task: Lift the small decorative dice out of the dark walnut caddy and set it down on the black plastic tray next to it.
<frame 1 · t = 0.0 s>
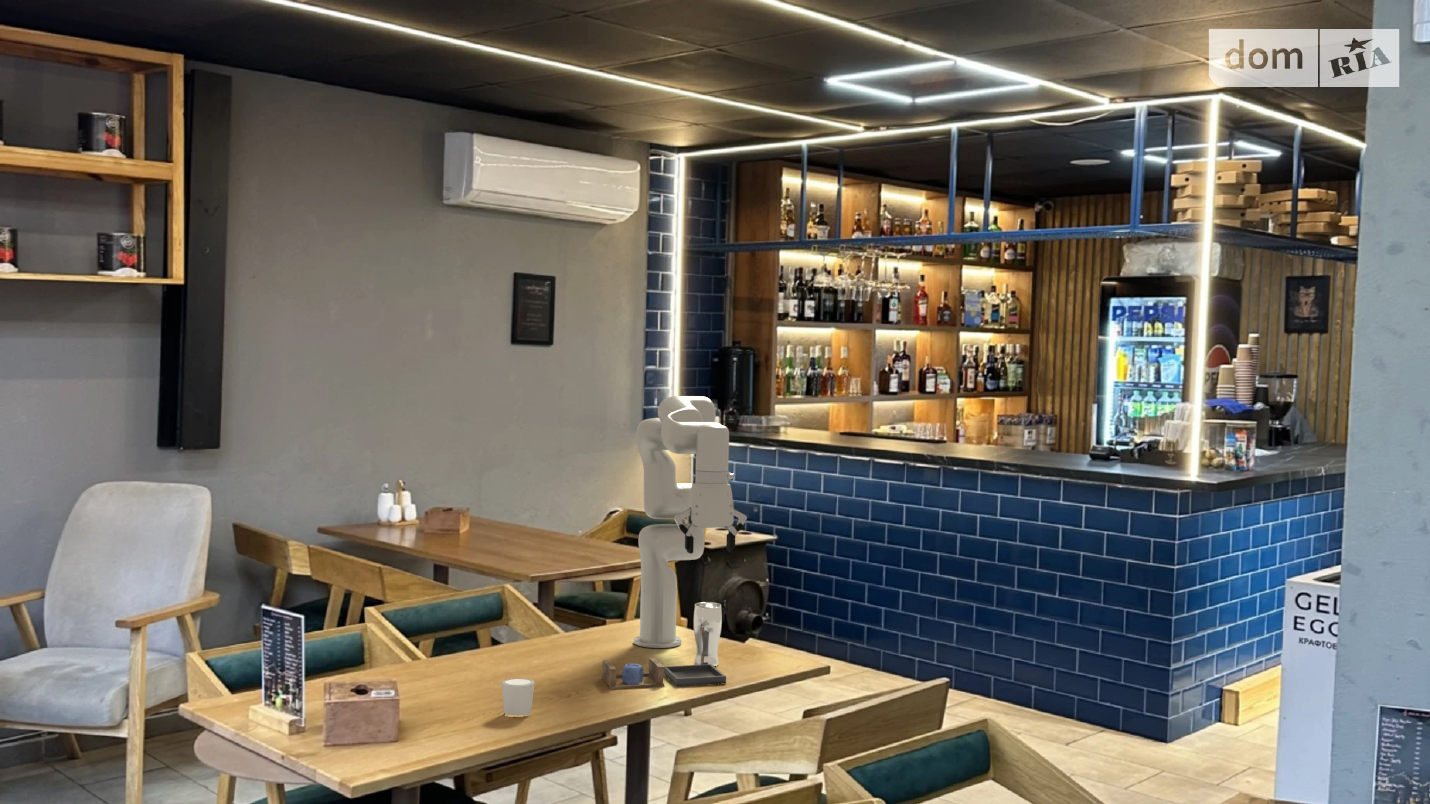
hand: (709, 552, 300), 31 cm above the table, tool pointing down, fingers open, 9 cm apart
caddy: (632, 682, 303), on the table
white cup: (517, 715, 274), on the table
beer glass: (706, 665, 322), on the table
decorative dice: (632, 683, 303), resting in caddy
tray: (694, 678, 307), on the table
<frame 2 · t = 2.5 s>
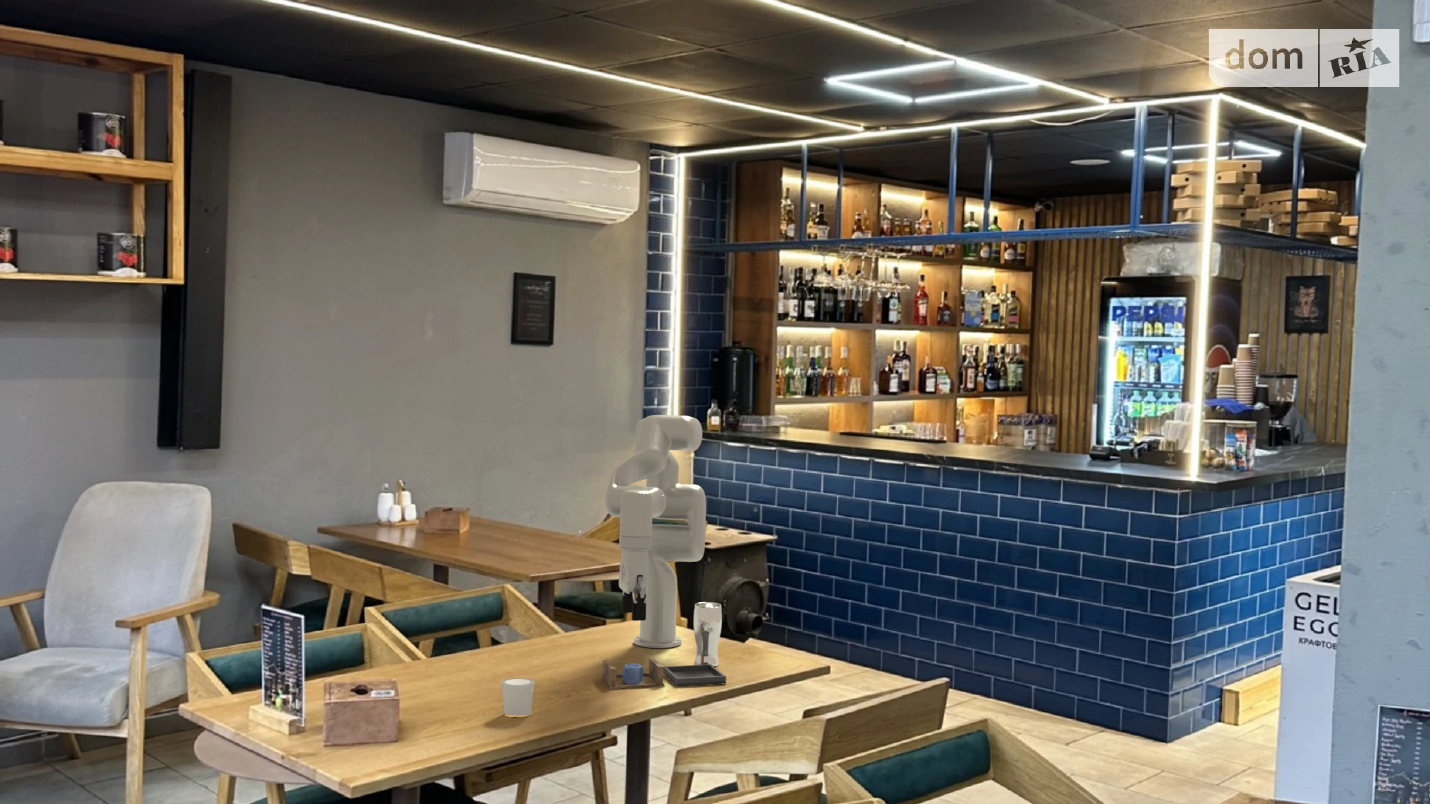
hand: (633, 616, 302), 16 cm above the table, tool pointing down, fingers open, 9 cm apart
nothing on the table moved.
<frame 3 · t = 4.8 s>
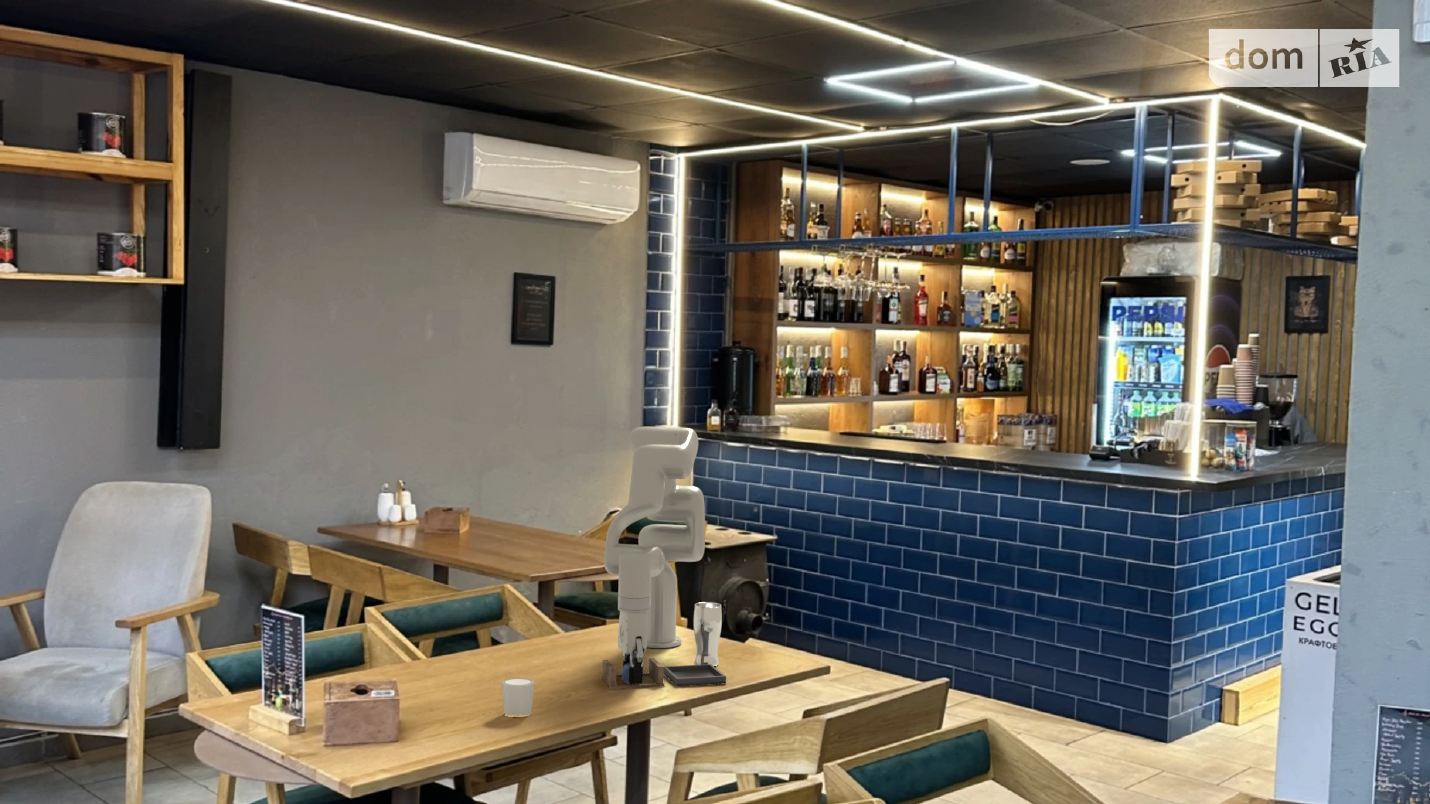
hand: (632, 679, 303), 1 cm above the table, tool pointing down, fingers closed on decorative dice, 5 cm apart
decorative dice: (632, 683, 303), resting in caddy, touching gripper
everything else where it was.
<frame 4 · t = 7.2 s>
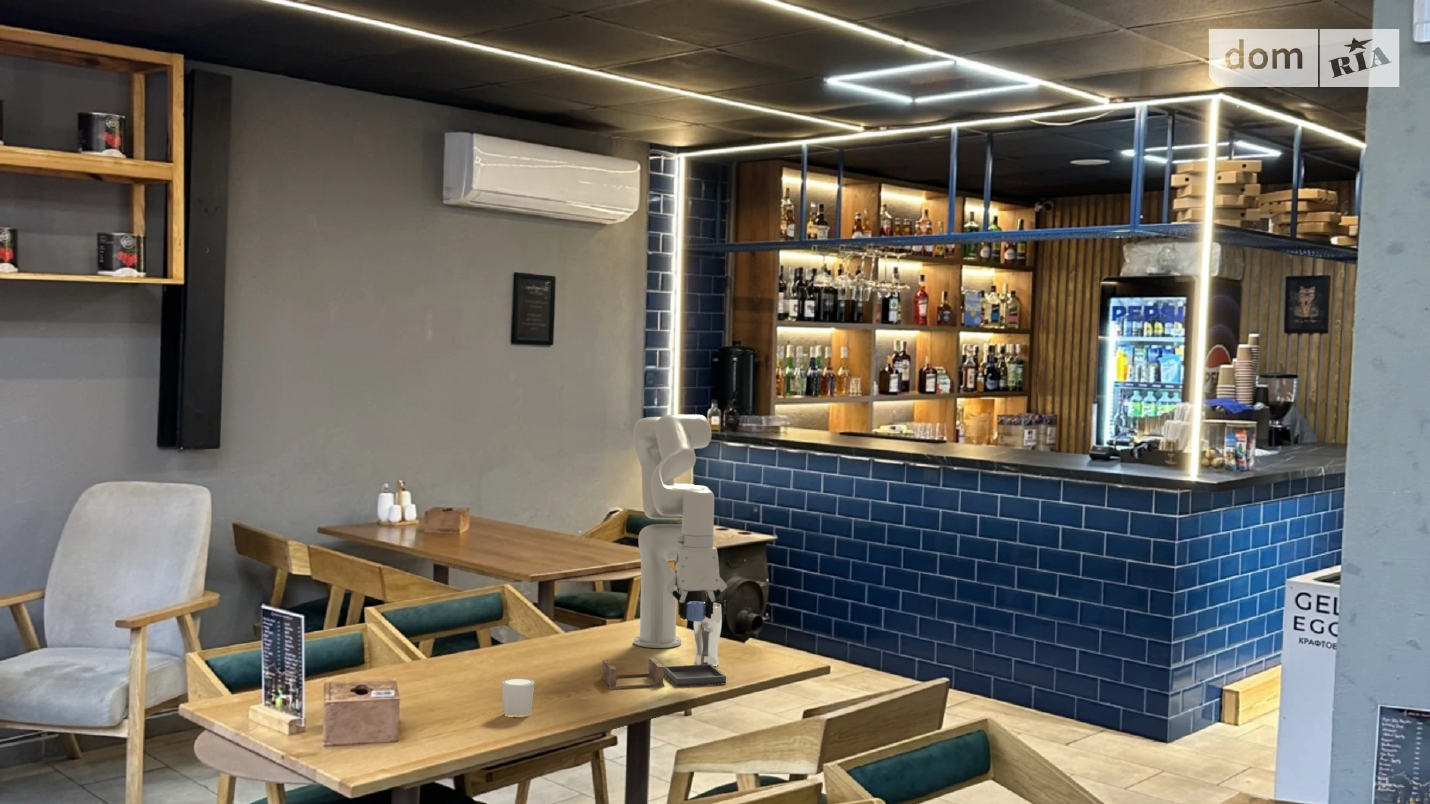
hand: (695, 617, 307), 15 cm above the table, tool pointing down, fingers closed on decorative dice, 5 cm apart
decorative dice: (695, 620, 307), point 14 cm above the table, touching gripper
everything else where it was.
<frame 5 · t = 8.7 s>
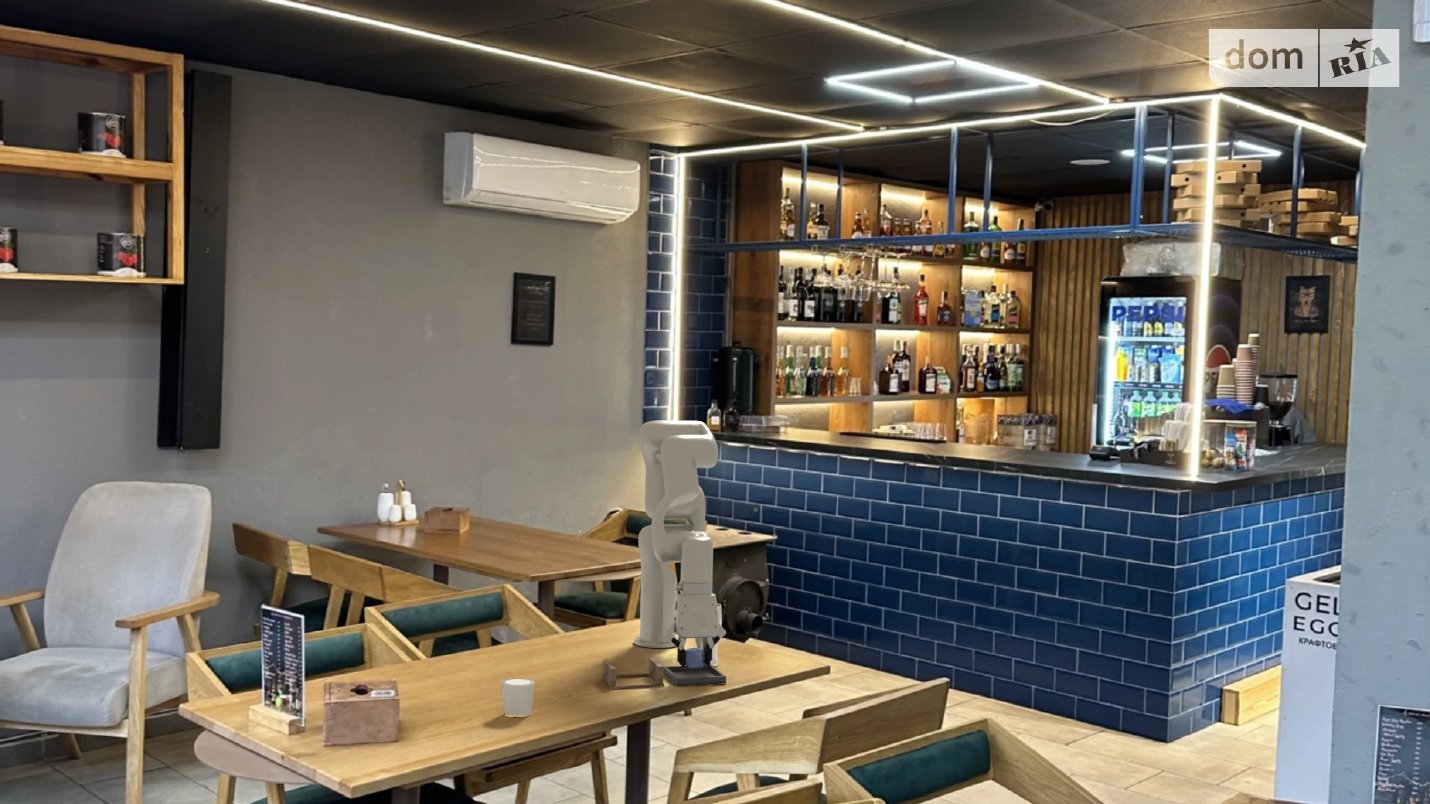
hand: (694, 663, 307), 4 cm above the table, tool pointing down, fingers closed on decorative dice, 5 cm apart
decorative dice: (694, 667, 307), point 3 cm above the table, touching gripper
everything else where it was.
when the fingers open (2 cm above the table, at t = 9.8 s): decorative dice drops 1 cm, resting on tray.
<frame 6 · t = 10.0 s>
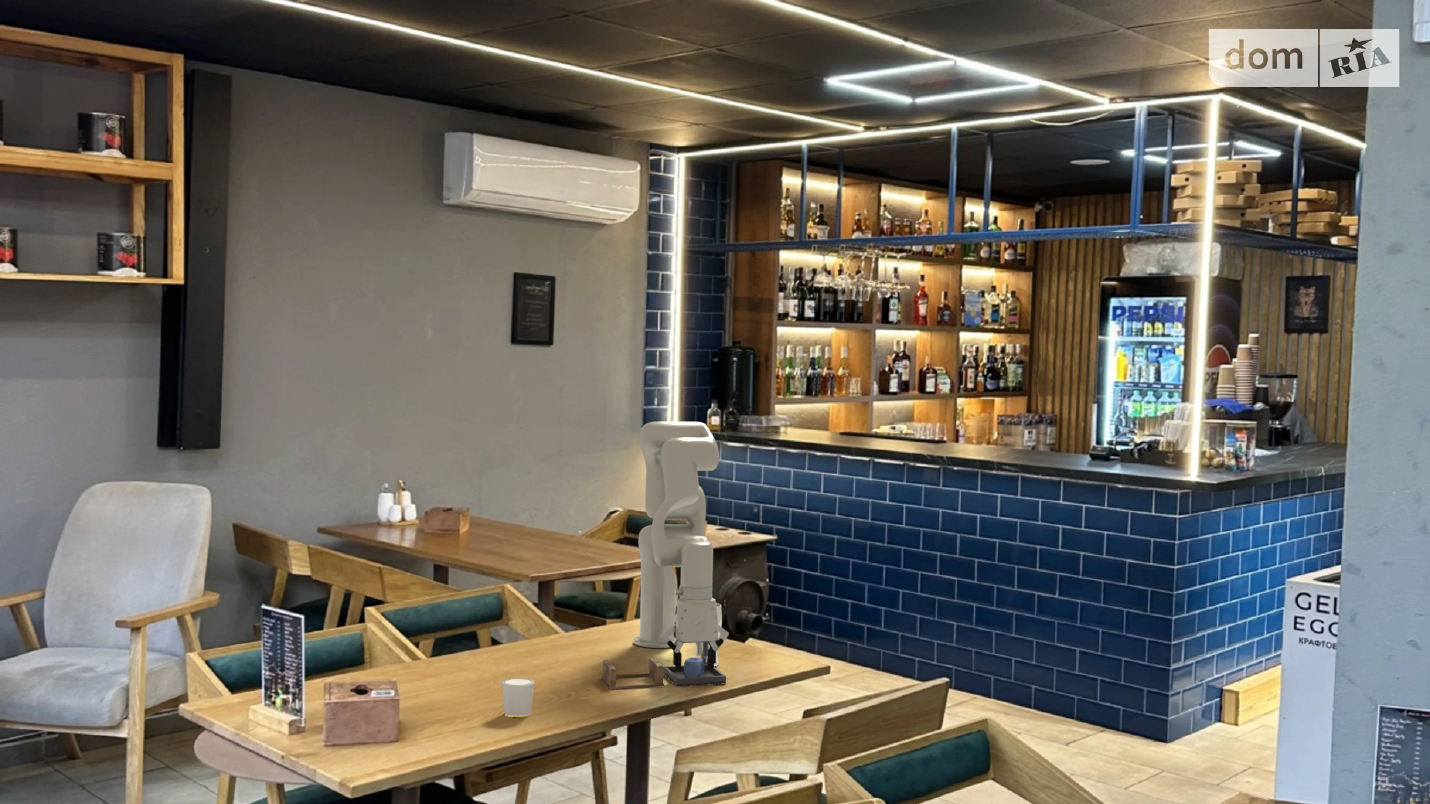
hand: (694, 666, 307), 3 cm above the table, tool pointing down, fingers open, 7 cm apart
decorative dice: (693, 677, 307), resting on tray
everything else where it was.
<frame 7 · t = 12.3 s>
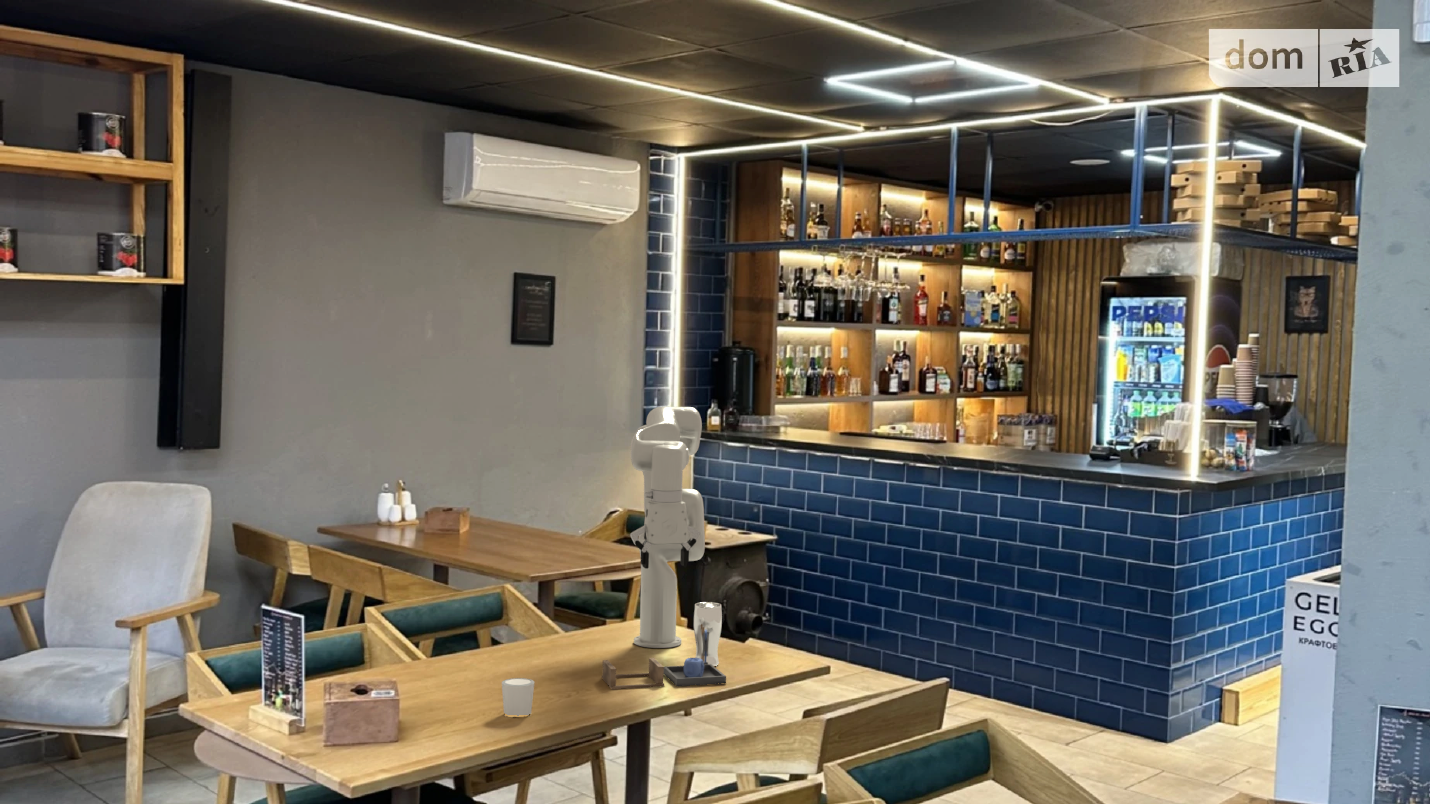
hand: (664, 566, 313), 25 cm above the table, tool pointing down, fingers open, 9 cm apart
nothing on the table moved.
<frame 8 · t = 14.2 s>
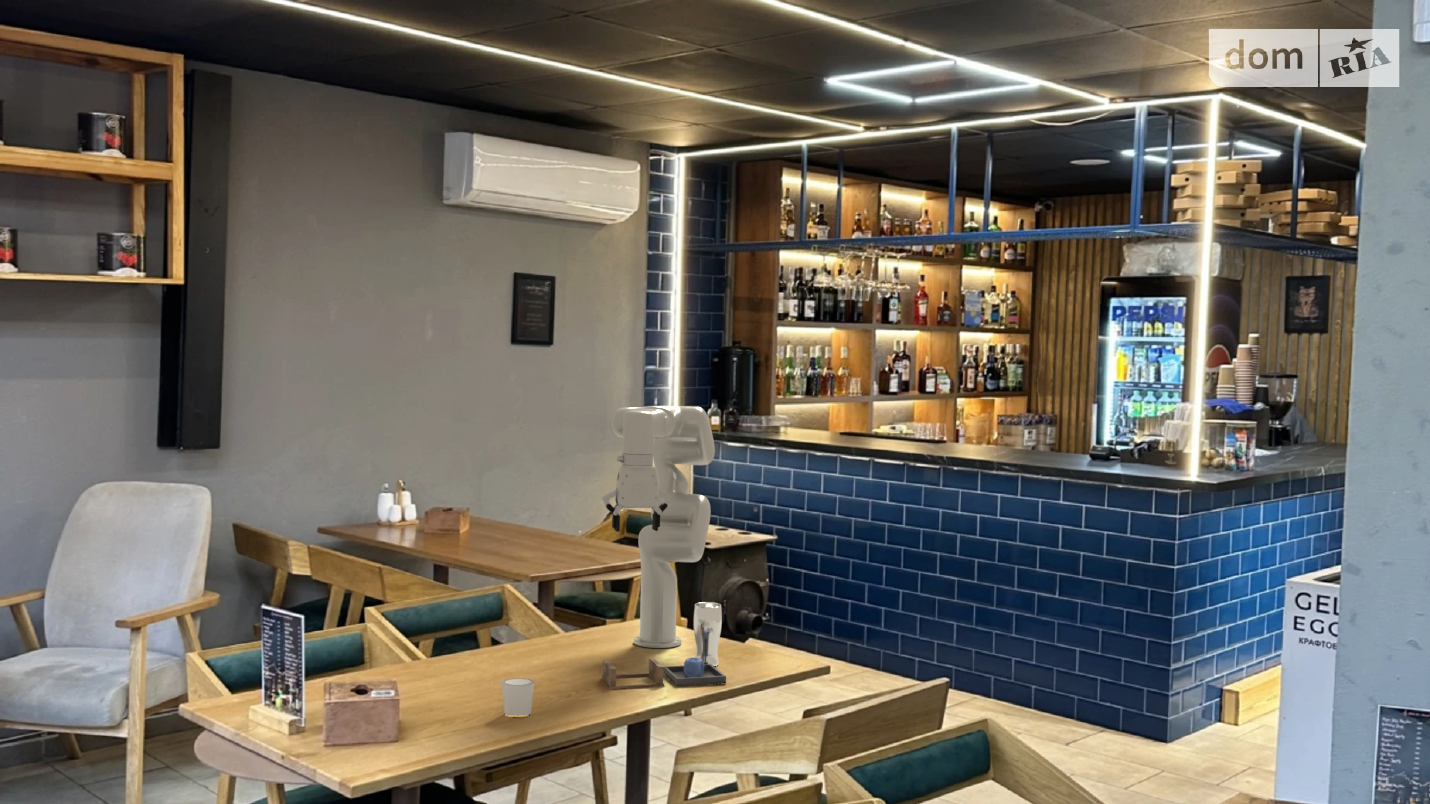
hand: (636, 530, 318), 33 cm above the table, tool pointing down, fingers open, 9 cm apart
nothing on the table moved.
at the end: decorative dice 0.1 cm from the tray (horizontally); decorative dice touching tray; the gripper is holding nothing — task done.
